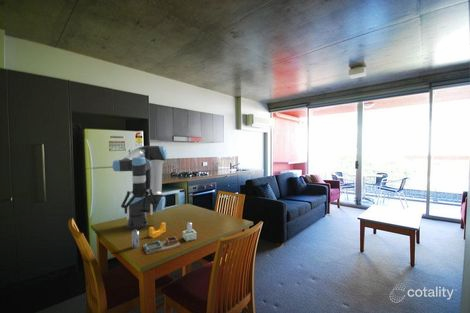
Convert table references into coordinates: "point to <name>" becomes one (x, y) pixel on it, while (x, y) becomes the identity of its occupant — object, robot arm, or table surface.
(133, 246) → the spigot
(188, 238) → the tray
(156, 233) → the pipe clamp
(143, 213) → the robot arm
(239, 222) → the table surface
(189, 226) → the pin
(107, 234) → the table surface
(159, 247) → the mount
